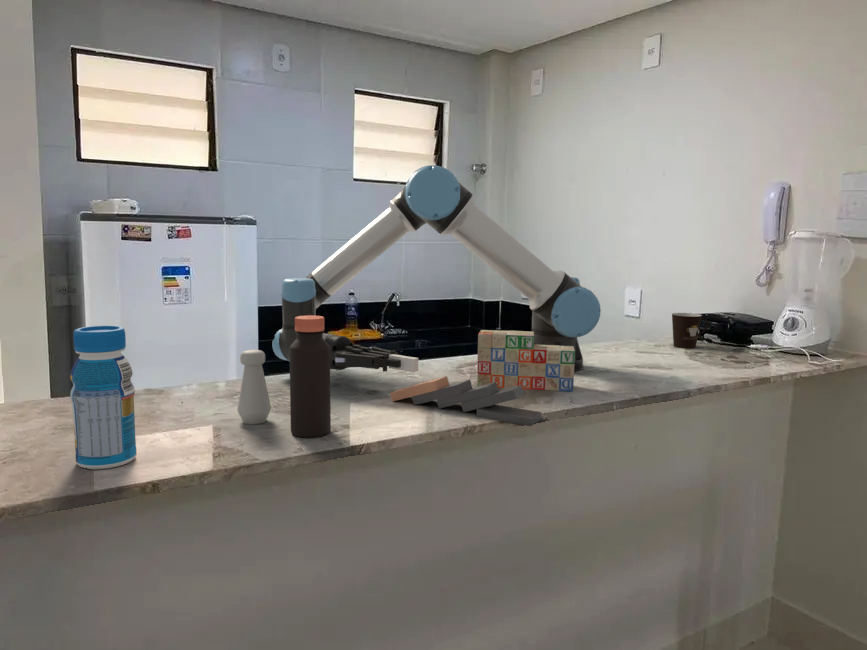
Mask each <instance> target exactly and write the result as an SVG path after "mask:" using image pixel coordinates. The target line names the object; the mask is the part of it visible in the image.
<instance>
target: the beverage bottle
mask: <svg viewBox="0 0 867 650" xmlns="http://www.w3.org/2000/svg"><path fill="white" fill-rule="evenodd" d="M72 338H73V349H74V351H75V353H76V354H79V357H77V359H76V360H75V362H74V364H73V366H72V368H71V370H70V374H69V375H70V377H69V378H70V381H71V382H72V388H71V390H70V392H69V393H70V401H71V406H72V407H71V408H72V420H73V421H72V422H73V432H74V433H73V435H74V448H75V462H76V464H77V466H78V467H80V468H83V469H86V468H87V469H88V470H106V469H113V468H117V467H121V466H124V465H126V464H130V462H132V461H133V460H134V459H135V458H136V456H137V454H138V453H137V445H136V444H137V443H136V441H137V439H136V419H135V418H136V417H135V401H134V399H135V397H134V396H135V392H136V391H135V386H134V383H132V376H133V375H134V374H133V369H132V366H131V364H130V362H129V360H128V359H127V358H126V356H125V355H123V353H122V352H124V351H125V350H126V346H127V343H126V331H125V328H124V327H123V326H118V325H93V326H85V327H84V326H83V327H79V328H76V329H74V330H73V337H72Z"/></svg>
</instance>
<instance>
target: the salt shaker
mask: <svg viewBox="0 0 867 650" xmlns="http://www.w3.org/2000/svg"><path fill="white" fill-rule="evenodd" d="M239 360H240V361H239V362H240V364H242V365H243V373H242V380H241V385H240V392H239V397H238V402H237V403H238V404H237V413H238V416H240V419H241V420H242V422H243V424H244V425H252V426H254V425H260V424H263V423H265V422H266V421H267V419H268V417H269V414H270V413H271V409H272V405H271V402H270V397H269V391H268V386H267V383H266V377H265V372H264V368H263V364H264V363H265V361H266V354H265V352H264V351H263V350H261V349H246V350H243V351H242V352H241V354H240V356H239Z"/></svg>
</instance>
